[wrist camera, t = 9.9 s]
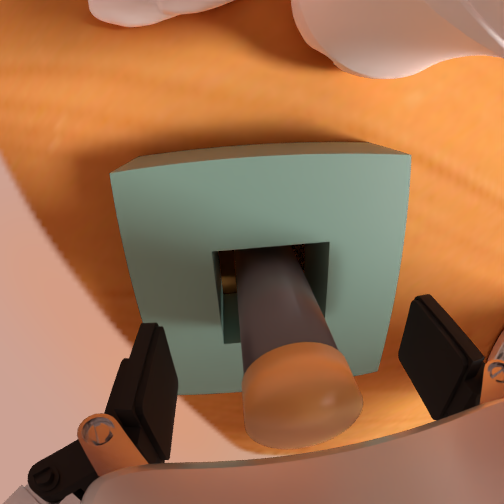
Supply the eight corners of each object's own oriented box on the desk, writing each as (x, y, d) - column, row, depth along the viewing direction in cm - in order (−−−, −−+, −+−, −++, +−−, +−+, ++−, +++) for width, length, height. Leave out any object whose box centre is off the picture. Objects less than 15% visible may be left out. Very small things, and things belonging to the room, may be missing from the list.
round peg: (292, 222, 17) (373, 369, 7) (293, 278, 19) (352, 438, 9) (229, 228, 17) (239, 389, 7) (234, 283, 19) (248, 454, 9)
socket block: (368, 142, 16) (411, 155, 12) (353, 326, 21) (377, 371, 17) (138, 156, 15) (109, 173, 11) (174, 344, 20) (166, 395, 16)
